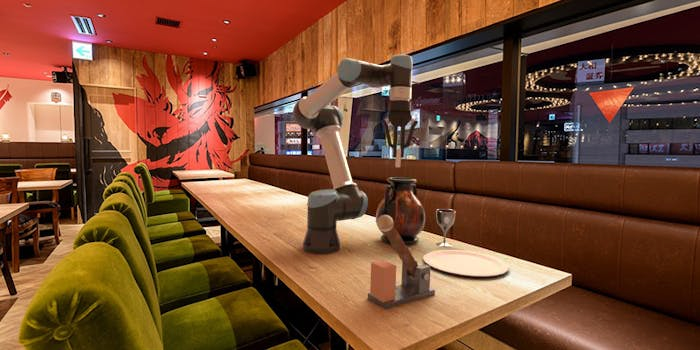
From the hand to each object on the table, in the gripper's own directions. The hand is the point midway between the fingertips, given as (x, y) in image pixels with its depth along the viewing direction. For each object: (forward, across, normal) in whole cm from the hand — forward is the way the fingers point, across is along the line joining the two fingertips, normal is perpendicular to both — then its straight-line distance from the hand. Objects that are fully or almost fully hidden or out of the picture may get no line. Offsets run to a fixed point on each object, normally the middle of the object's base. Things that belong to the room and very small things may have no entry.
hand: (397, 167), depth 129 cm
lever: (+28, +3, -29) cm, 41 cm away
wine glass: (+35, +24, +24) cm, 48 cm away
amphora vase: (+35, +5, +27) cm, 44 cm away
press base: (+34, -1, -32) cm, 47 cm away
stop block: (+33, -7, -36) cm, 49 cm away
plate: (+35, +25, -2) cm, 43 cm away
